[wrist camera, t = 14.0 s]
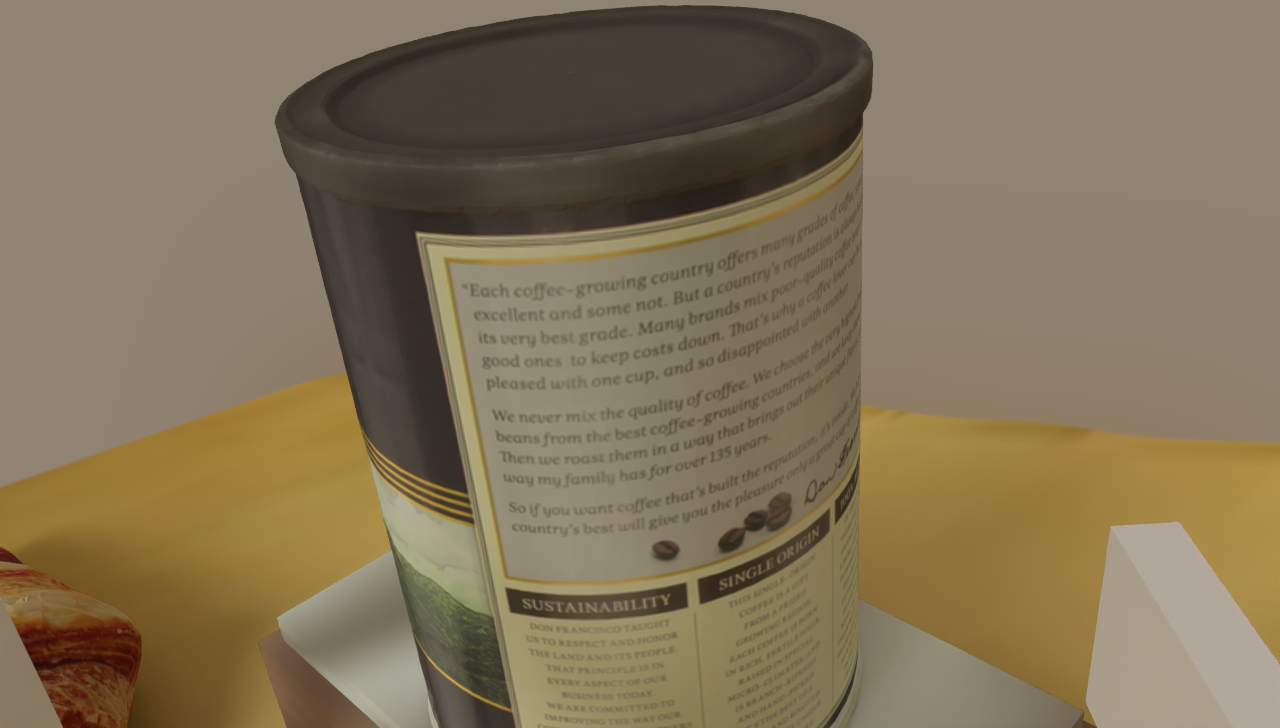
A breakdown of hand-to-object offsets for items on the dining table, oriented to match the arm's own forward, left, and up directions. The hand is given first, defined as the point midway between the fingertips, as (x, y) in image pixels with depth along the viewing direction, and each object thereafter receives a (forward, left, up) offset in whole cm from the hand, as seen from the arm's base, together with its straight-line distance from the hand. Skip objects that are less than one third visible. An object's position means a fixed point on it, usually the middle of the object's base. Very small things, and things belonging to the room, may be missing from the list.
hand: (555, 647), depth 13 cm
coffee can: (-6, +7, -9) cm, 13 cm away
